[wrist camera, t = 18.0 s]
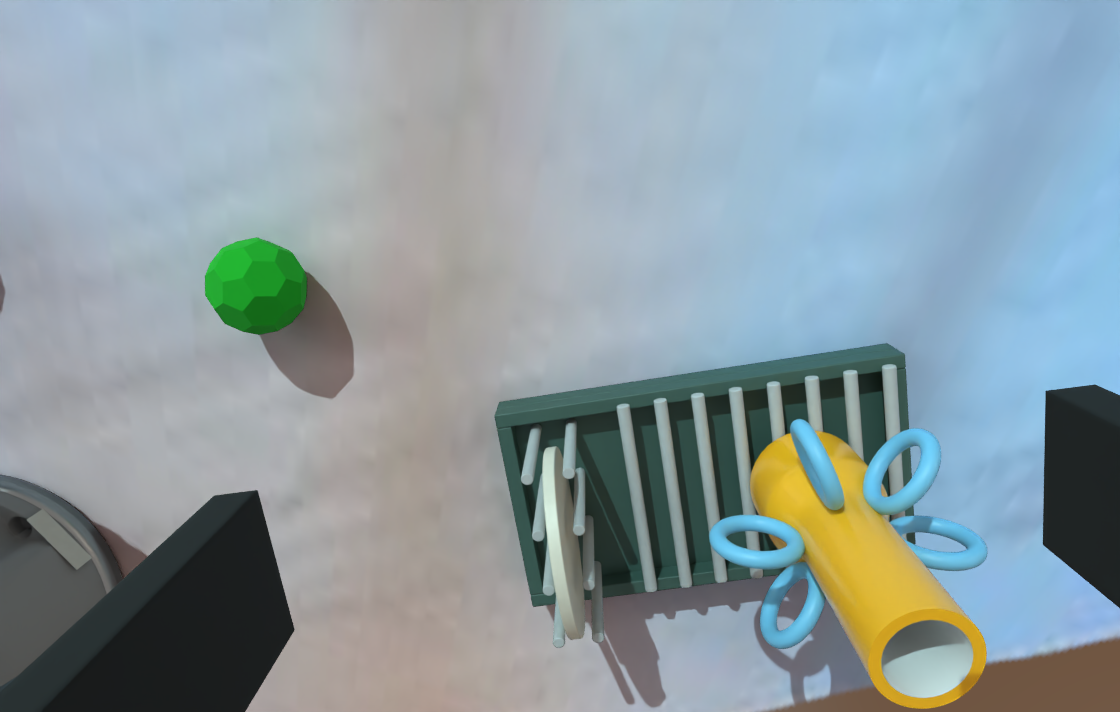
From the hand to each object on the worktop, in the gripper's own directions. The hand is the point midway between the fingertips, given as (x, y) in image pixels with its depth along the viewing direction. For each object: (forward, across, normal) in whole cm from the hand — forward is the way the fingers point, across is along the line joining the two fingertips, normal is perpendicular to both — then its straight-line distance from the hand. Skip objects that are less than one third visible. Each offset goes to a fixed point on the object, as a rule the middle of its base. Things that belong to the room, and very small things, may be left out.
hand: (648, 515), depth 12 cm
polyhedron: (+30, -18, +2) cm, 35 cm away
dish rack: (+29, +4, -12) cm, 32 cm away
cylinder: (+26, +9, -12) cm, 31 cm away
